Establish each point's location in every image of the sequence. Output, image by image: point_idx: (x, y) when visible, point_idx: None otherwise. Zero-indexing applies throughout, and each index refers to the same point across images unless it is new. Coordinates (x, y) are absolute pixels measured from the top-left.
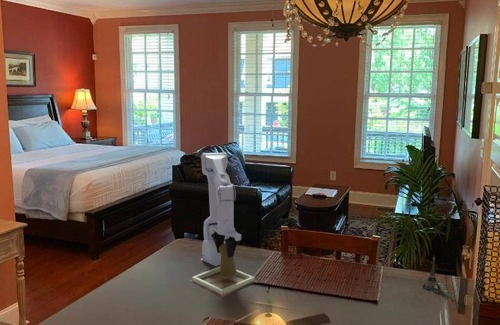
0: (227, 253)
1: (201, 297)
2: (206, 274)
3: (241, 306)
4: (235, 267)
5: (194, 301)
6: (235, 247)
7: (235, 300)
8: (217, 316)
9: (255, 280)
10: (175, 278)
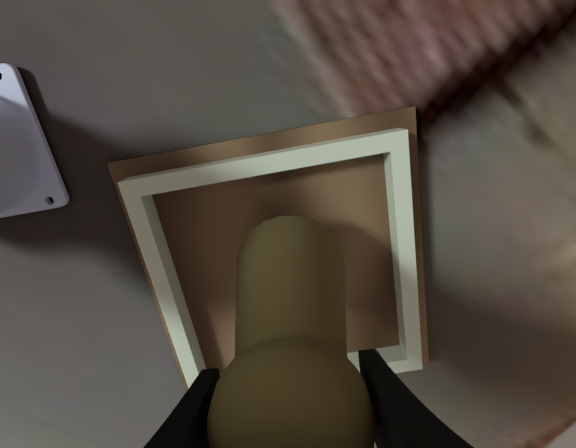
0: (376, 436)
1: None
2: (187, 326)
3: (544, 332)
4: (324, 245)
5: None
6: (436, 422)
7: (484, 324)
8: (527, 433)
9: (396, 117)
10: (127, 421)
